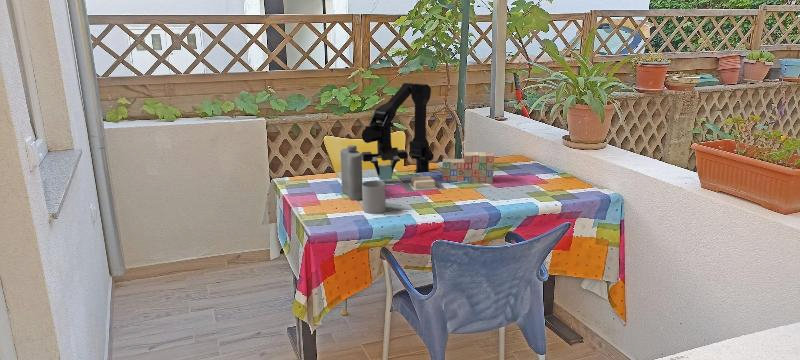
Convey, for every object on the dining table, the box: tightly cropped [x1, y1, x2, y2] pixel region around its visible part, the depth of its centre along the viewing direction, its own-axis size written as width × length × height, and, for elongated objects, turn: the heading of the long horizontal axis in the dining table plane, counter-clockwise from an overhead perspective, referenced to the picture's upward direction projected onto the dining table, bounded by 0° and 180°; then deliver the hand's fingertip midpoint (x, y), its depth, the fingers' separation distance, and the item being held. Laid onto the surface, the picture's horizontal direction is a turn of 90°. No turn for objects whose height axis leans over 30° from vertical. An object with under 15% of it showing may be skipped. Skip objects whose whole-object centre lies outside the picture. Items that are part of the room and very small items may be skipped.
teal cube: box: [377, 164, 393, 181], centre depth 242 cm, size 5×5×5 cm
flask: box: [339, 144, 363, 201], centre depth 228 cm, size 15×6×20 cm, turn 23°
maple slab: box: [410, 175, 436, 189], centre depth 237 cm, size 8×8×3 cm
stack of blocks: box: [441, 151, 495, 185], centre depth 246 cm, size 21×6×12 cm, turn 85°
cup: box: [362, 180, 387, 215], centre depth 211 cm, size 8×8×10 cm
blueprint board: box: [400, 180, 446, 193], centre depth 238 cm, size 12×16×1 cm
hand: (384, 175), depth 243 cm, fingers closed on teal cube, 5 cm apart
